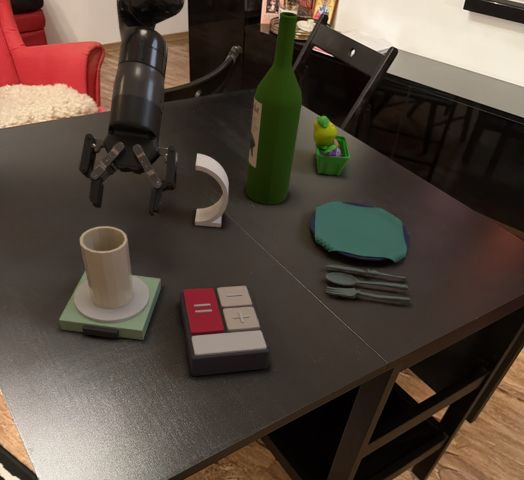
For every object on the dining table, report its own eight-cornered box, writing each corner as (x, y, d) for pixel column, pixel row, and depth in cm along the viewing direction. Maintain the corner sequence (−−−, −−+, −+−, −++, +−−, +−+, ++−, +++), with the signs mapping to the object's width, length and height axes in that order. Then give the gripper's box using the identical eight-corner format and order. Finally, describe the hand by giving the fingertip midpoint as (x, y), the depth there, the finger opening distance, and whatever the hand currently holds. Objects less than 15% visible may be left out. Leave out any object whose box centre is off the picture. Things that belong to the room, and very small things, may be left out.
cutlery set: (401, 217, 102) (405, 208, 100) (419, 311, 82) (423, 301, 80) (309, 203, 102) (311, 194, 100) (303, 294, 81) (306, 283, 80)
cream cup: (85, 305, 70) (72, 249, 63) (98, 279, 74) (88, 223, 67) (127, 311, 70) (119, 255, 63) (138, 284, 75) (132, 229, 67)
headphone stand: (196, 212, 95) (197, 153, 86) (227, 215, 96) (230, 156, 87) (194, 225, 92) (195, 165, 83) (226, 227, 92) (230, 168, 84)
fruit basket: (345, 179, 111) (357, 130, 103) (307, 174, 111) (317, 125, 102) (340, 156, 119) (352, 109, 111) (305, 152, 118) (314, 104, 110)
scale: (59, 333, 69) (56, 320, 68) (88, 278, 78) (85, 265, 76) (142, 343, 70) (140, 331, 68) (161, 288, 78) (160, 275, 77)
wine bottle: (240, 184, 104) (255, 5, 81) (279, 181, 107) (304, 7, 83) (252, 206, 99) (272, 20, 75) (292, 203, 101) (323, 23, 78)
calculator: (248, 282, 76) (271, 347, 66) (246, 303, 79) (268, 368, 69) (179, 286, 74) (191, 355, 63) (179, 308, 77) (191, 376, 66)
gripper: (82, 84, 69) (68, 197, 69) (180, 99, 69) (166, 211, 70) (98, 109, 76) (86, 210, 77) (187, 122, 77) (174, 223, 77)
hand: (124, 210), depth 73 cm, fingers open, 8 cm apart
